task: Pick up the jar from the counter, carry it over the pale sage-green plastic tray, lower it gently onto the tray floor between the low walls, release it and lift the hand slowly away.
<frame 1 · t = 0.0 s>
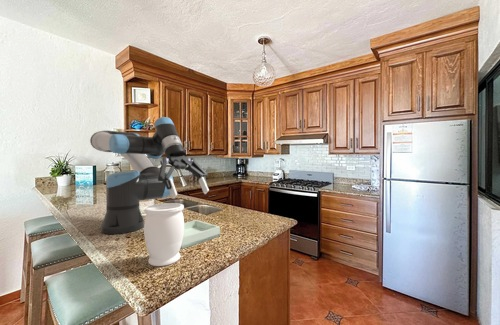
hand: (191, 194, 80), 15 cm above the countertop, tool tilted 35°, fingers open, 13 cm apart
jar: (164, 260, 61), on the countertop
tray: (190, 237, 79), on the countertop
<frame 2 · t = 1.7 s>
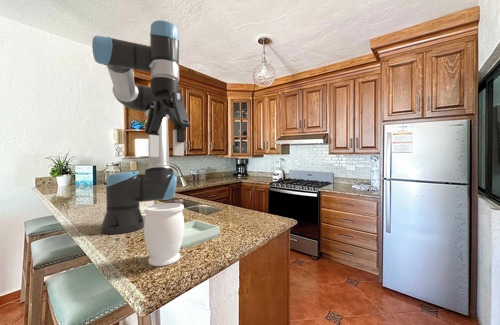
hand: (165, 156, 61), 29 cm above the countertop, tool pointing down, fingers open, 13 cm apart
nothing on the countertop moved.
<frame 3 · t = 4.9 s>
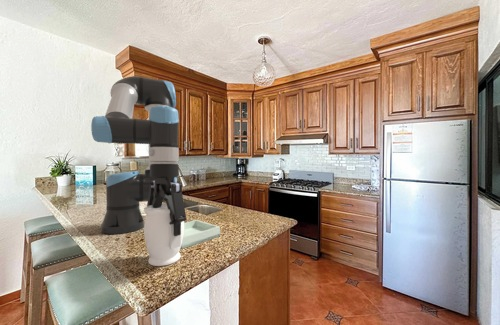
hand: (164, 242, 61), 5 cm above the countertop, tool pointing down, fingers closed on jar, 10 cm apart
jar: (164, 260, 61), on the countertop, touching gripper
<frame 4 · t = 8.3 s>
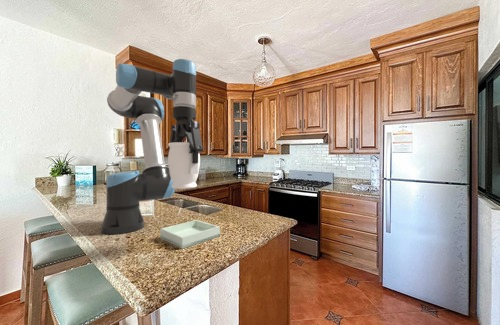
hand: (184, 173, 74), 24 cm above the countertop, tool pointing down, fingers closed on jar, 10 cm apart
jar: (184, 187, 74), point 18 cm above the countertop, touching gripper
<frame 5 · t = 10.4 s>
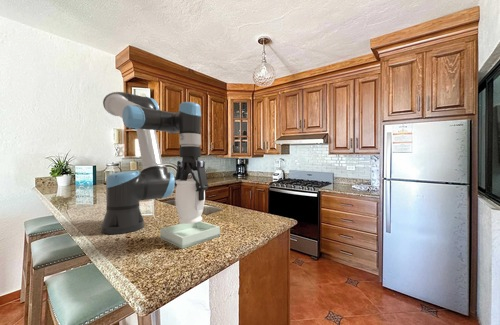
hand: (190, 207, 79), 11 cm above the countertop, tool pointing down, fingers closed on jar, 10 cm apart
jar: (190, 221, 79), point 6 cm above the countertop, touching gripper
when the fingers open (7 cm above the countertop, at t = 11.8 s): jar stays where it is, resting on tray.
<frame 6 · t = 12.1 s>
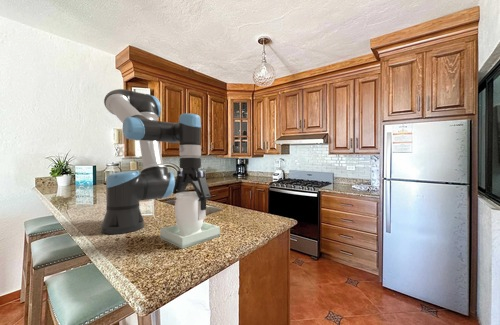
hand: (190, 216, 79), 8 cm above the countertop, tool pointing down, fingers open, 13 cm apart
jar: (190, 234, 79), point 1 cm above the countertop, touching tray
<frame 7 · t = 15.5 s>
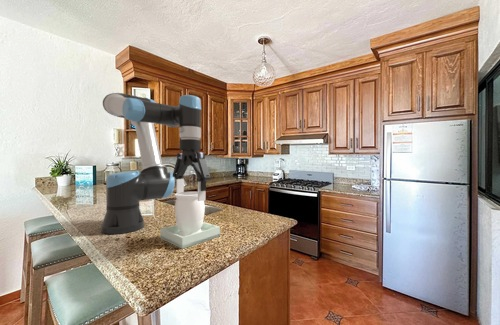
hand: (190, 198, 79), 14 cm above the countertop, tool pointing down, fingers open, 13 cm apart
nothing on the countertop moved.
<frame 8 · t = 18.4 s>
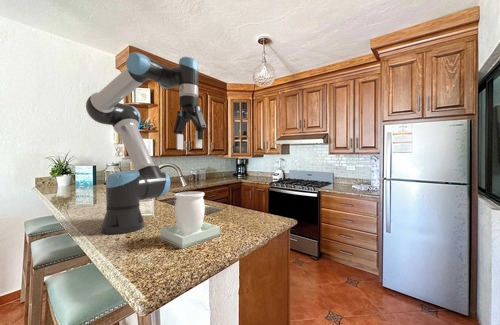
hand: (189, 148, 90), 33 cm above the countertop, tool pointing down, fingers open, 13 cm apart
nothing on the countertop moved.
at the end: jar 0.3 cm off-centre on the tray, point 0.8 cm above the tray's base; jar tilted 0°; the gripper is holding nothing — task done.
